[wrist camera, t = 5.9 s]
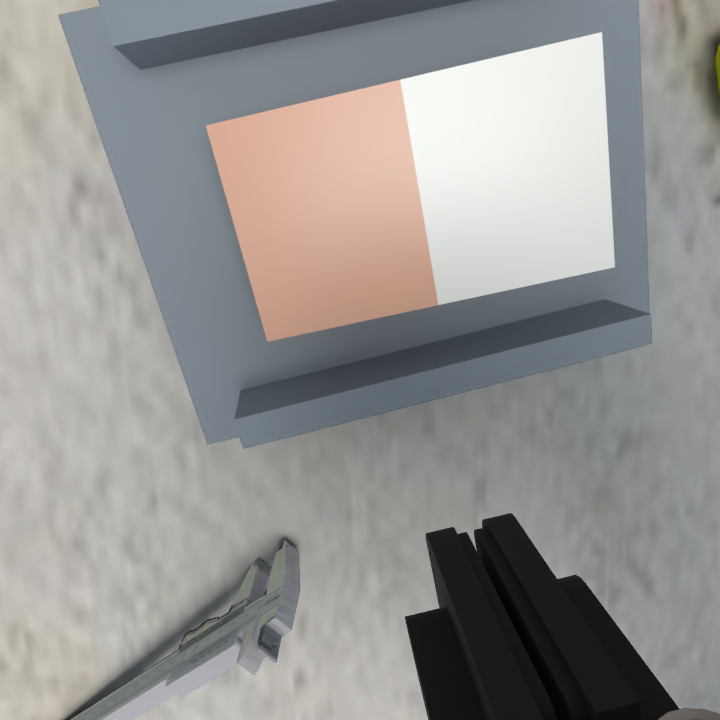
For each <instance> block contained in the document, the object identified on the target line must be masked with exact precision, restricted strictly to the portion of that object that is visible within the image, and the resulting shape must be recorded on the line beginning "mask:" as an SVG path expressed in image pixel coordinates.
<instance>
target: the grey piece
mask: <svg viewBox="0 0 720 720" xmlns="http://www.w3.org/2000/svg"><path fill="white" fill-rule="evenodd" d="M98 1H99V4H100V7H95V8H90V9H85V10H80V11H75V12H70V13H65V14H60V15H58V16H59V19H60V22H61V25H62V28H63V31H64V34H65V36H66V39H67V42H68V45H69V48H70V51H71V54H72V57H73V59H74V62H75V65H76V68H77V71H78V74H79V77H80V80H81V82H82V85H83V88H84V91H85V94H86V97H87V100H88V103H89V105H90V108H91V111H92V114H93V117H94V120H95V123H96V126H97V128H98V131H99V134H100V137H101V140H102V143H103V146H104V148H105V151H106V154H107V157H108V160H109V163H110V166H111V169H112V171H113V174H114V177H115V180H116V183H117V186H118V189H119V192H120V194H121V197H122V200H123V203H124V206H125V209H126V212H127V215H128V217H129V220H130V223H131V226H132V229H133V232H134V235H135V237H136V240H137V243H138V246H139V249H140V252H141V255H142V258H143V260H144V263H145V266H146V269H147V272H148V275H149V278H150V281H151V283H152V286H153V289H154V292H155V295H156V298H157V301H158V304H159V306H160V309H161V312H162V315H163V318H164V321H165V324H166V327H167V329H168V332H169V335H170V338H171V341H172V344H173V347H174V349H175V352H176V355H177V358H178V361H179V364H180V367H181V370H182V372H183V375H184V378H185V381H186V384H187V387H188V390H189V393H190V395H191V398H192V401H193V404H194V407H195V410H196V413H197V416H198V418H199V421H200V424H201V427H202V430H203V433H204V436H205V439H206V441H207V444H212V443H216V442H220V441H224V440H228V439H232V438H236V437H240V440H241V443H242V446H243V449H245V448H248V447H252V446H256V445H260V444H264V443H268V442H272V441H276V440H280V439H284V438H287V437H291V436H295V435H299V434H303V433H307V432H311V431H315V430H319V429H322V428H326V427H330V426H334V425H338V424H342V423H346V422H350V421H354V420H357V419H361V418H365V417H369V416H373V415H377V414H381V413H385V412H389V411H392V410H396V409H400V408H404V407H408V406H412V405H416V404H420V403H424V402H427V401H431V400H435V399H439V398H443V397H447V396H451V395H455V394H459V393H462V392H466V391H470V390H474V389H478V388H482V387H486V386H490V385H494V384H497V383H501V382H505V381H509V380H513V379H517V378H521V377H525V376H529V375H532V374H536V373H540V372H544V371H548V370H552V369H556V368H560V367H564V366H568V365H571V364H575V363H579V362H583V361H587V360H591V359H595V358H599V357H603V356H606V355H610V354H614V353H618V352H622V351H626V350H630V349H634V348H638V347H641V346H645V345H649V344H652V328H651V314H649V287H648V259H647V230H646V201H645V173H644V144H643V115H642V87H641V58H640V29H639V1H638V0H98ZM600 32H602V41H603V59H604V77H605V95H606V113H607V131H608V150H609V168H610V186H611V204H612V222H613V240H614V258H615V267H614V268H609V269H605V270H600V271H595V272H591V273H586V274H581V275H577V276H572V277H567V278H563V279H558V280H553V281H549V282H544V283H539V284H535V285H530V286H525V287H521V288H516V289H511V290H507V291H502V292H497V293H493V294H488V295H483V296H479V297H474V298H469V299H465V300H460V301H455V302H451V303H446V304H441V305H437V306H432V307H427V308H423V309H418V310H413V311H409V312H404V313H399V314H395V315H390V316H385V317H381V318H376V319H371V320H367V321H362V322H357V323H353V324H348V325H343V326H339V327H334V328H329V329H325V330H320V331H315V332H311V333H306V334H301V335H297V336H292V337H287V338H283V339H278V340H273V341H269V342H267V339H266V335H265V332H264V328H263V325H262V321H261V318H260V314H259V311H258V307H257V304H256V300H255V297H254V293H253V290H252V286H251V283H250V279H249V276H248V272H247V269H246V265H245V262H244V258H243V255H242V251H241V248H240V244H239V241H238V237H237V234H236V230H235V227H234V223H233V220H232V216H231V213H230V209H229V206H228V202H227V199H226V195H225V192H224V188H223V185H222V181H221V178H220V174H219V171H218V167H217V164H216V160H215V157H214V153H213V150H212V146H211V143H210V139H209V136H208V132H207V129H206V125H210V124H214V123H219V122H223V121H227V120H231V119H235V118H240V117H244V116H248V115H252V114H257V113H261V112H265V111H269V110H274V109H278V108H282V107H286V106H291V105H295V104H299V103H303V102H308V101H312V100H316V99H320V98H325V97H329V96H333V95H337V94H341V93H346V92H350V91H354V90H358V89H363V88H367V87H371V86H375V85H380V84H384V83H388V82H392V81H397V80H401V79H405V78H409V77H414V76H418V75H422V74H426V73H430V72H435V71H439V70H443V69H447V68H452V67H456V66H460V65H464V64H469V63H473V62H477V61H481V60H486V59H490V58H494V57H498V56H503V55H507V54H511V53H515V52H520V51H524V50H528V49H532V48H536V47H541V46H545V45H549V44H553V43H558V42H562V41H566V40H570V39H575V38H579V37H583V36H587V35H592V34H596V33H600Z"/></svg>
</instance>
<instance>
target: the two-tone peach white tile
mask: <svg viewBox="0 0 720 720" xmlns="http://www.w3.org/2000/svg"><path fill="white" fill-rule="evenodd" d="M206 129H207V132H208V136H209V139H210V143H211V146H212V150H213V153H214V157H215V160H216V164H217V167H218V171H219V174H220V178H221V181H222V185H223V188H224V192H225V195H226V199H227V202H228V206H229V209H230V213H231V216H232V220H233V223H234V227H235V230H236V234H237V237H238V241H239V244H240V248H241V251H242V255H243V258H244V262H245V265H246V269H247V272H248V276H249V279H250V283H251V286H252V290H253V293H254V297H255V300H256V304H257V307H258V311H259V314H260V318H261V321H262V325H263V328H264V332H265V335H266V339H267V342H269V341H273V340H278V339H283V338H287V337H292V336H297V335H301V334H306V333H311V332H315V331H320V330H325V329H329V328H334V327H339V326H343V325H348V324H353V323H357V322H362V321H367V320H371V319H376V318H381V317H385V316H390V315H395V314H399V313H404V312H409V311H413V310H418V309H423V308H427V307H432V306H437V305H441V304H446V303H451V302H455V301H460V300H465V299H469V298H474V297H479V296H483V295H488V294H493V293H497V292H502V291H507V290H511V289H516V288H521V287H525V286H530V285H535V284H539V283H544V282H549V281H553V280H558V279H563V278H567V277H572V276H577V275H581V274H586V273H591V272H595V271H600V270H605V269H609V268H614V267H615V258H614V240H613V222H612V204H611V186H610V168H609V150H608V131H607V113H606V95H605V77H604V59H603V41H602V32H600V33H596V34H592V35H587V36H583V37H579V38H575V39H570V40H566V41H562V42H558V43H553V44H549V45H545V46H541V47H536V48H532V49H528V50H524V51H520V52H515V53H511V54H507V55H503V56H498V57H494V58H490V59H486V60H481V61H477V62H473V63H469V64H464V65H460V66H456V67H452V68H447V69H443V70H439V71H435V72H430V73H426V74H422V75H418V76H414V77H409V78H405V79H401V80H397V81H392V82H388V83H384V84H380V85H375V86H371V87H367V88H363V89H358V90H354V91H350V92H346V93H341V94H337V95H333V96H329V97H325V98H320V99H316V100H312V101H308V102H303V103H299V104H295V105H291V106H286V107H282V108H278V109H274V110H269V111H265V112H261V113H257V114H252V115H248V116H244V117H240V118H235V119H231V120H227V121H223V122H219V123H214V124H210V125H206Z"/></svg>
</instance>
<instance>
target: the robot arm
mask: <svg viewBox="0 0 720 720" xmlns="http://www.w3.org/2000/svg"><path fill="white" fill-rule="evenodd" d="M482 526H483V528H481V529H477V530H475V531H474V536H475V542H476V549H477V551H476V549H475V547H474V545H473V543H472V541H471V539H470V537H469V535H468V534H467V532H464V533H460V534H457V532H456V530H455V529H454V527H451V528H447V529H443V530H438V531H434V532H430V533H426V541H427V546H428V552H429V557H430V562H431V567H432V572H433V577H434V582H435V587H436V592H437V597H438V602H439V607H440V608H439V609H435V610H431V611H427V612H423V613H419V614H415V615H410V616H406V617H405V620H406V624H407V629H408V634H409V638H410V643H411V647H412V651H413V656H414V660H415V665H416V669H417V673H418V678H419V682H420V686H421V690H422V695H423V699H424V703H425V707H426V711H427V715H428V720H720V714H719V713H716V712H712V711H709V710H705V709H692V708H683V709H679V708H678V706H677V705H676V704H675V702H674V701H673V700H672V698H671V697H670V696H669V694H668V693H667V692H666V690H665V689H664V688H663V686H662V685H661V684H660V682H659V681H658V680H657V678H656V677H655V676H654V674H653V673H652V672H651V670H650V669H649V668H648V666H647V665H646V664H645V662H644V661H643V660H642V658H641V657H640V656H639V654H638V653H637V652H636V650H635V649H634V647H633V646H632V645H631V643H630V642H629V641H628V639H627V638H626V637H625V635H624V634H623V633H622V631H621V630H620V629H619V627H618V626H617V625H616V623H615V622H614V621H613V619H612V618H611V617H610V615H609V614H608V613H607V611H606V610H605V609H604V607H603V606H602V605H601V603H600V602H599V601H598V599H597V598H596V597H595V595H594V594H593V593H592V591H591V590H590V589H589V587H588V586H587V585H586V583H585V582H584V581H583V580H582V579H581V578H580V577H579V576H577V575H573V576H569V577H565V578H561V579H557V578H556V577H555V575H554V574H553V573H552V571H551V570H550V568H549V567H548V565H547V564H546V562H545V561H544V559H543V558H542V556H541V555H540V553H539V552H538V550H537V549H536V547H535V546H534V545H533V543H532V542H531V540H530V539H529V537H528V536H527V534H526V533H525V531H524V530H523V528H522V527H521V525H520V524H519V522H518V521H517V519H516V518H515V517H514V515H513V514H511V513H509V514H505V515H501V516H497V517H492V518H488V519H484V520H483V521H482Z"/></svg>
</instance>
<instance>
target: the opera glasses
mask: <svg viewBox="0 0 720 720" xmlns="http://www.w3.org/2000/svg"><path fill="white" fill-rule="evenodd" d="M715 65H716V71H717V79H718V90H719V95H720V44H719V46H718V48H717V53H716V57H715Z"/></svg>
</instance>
